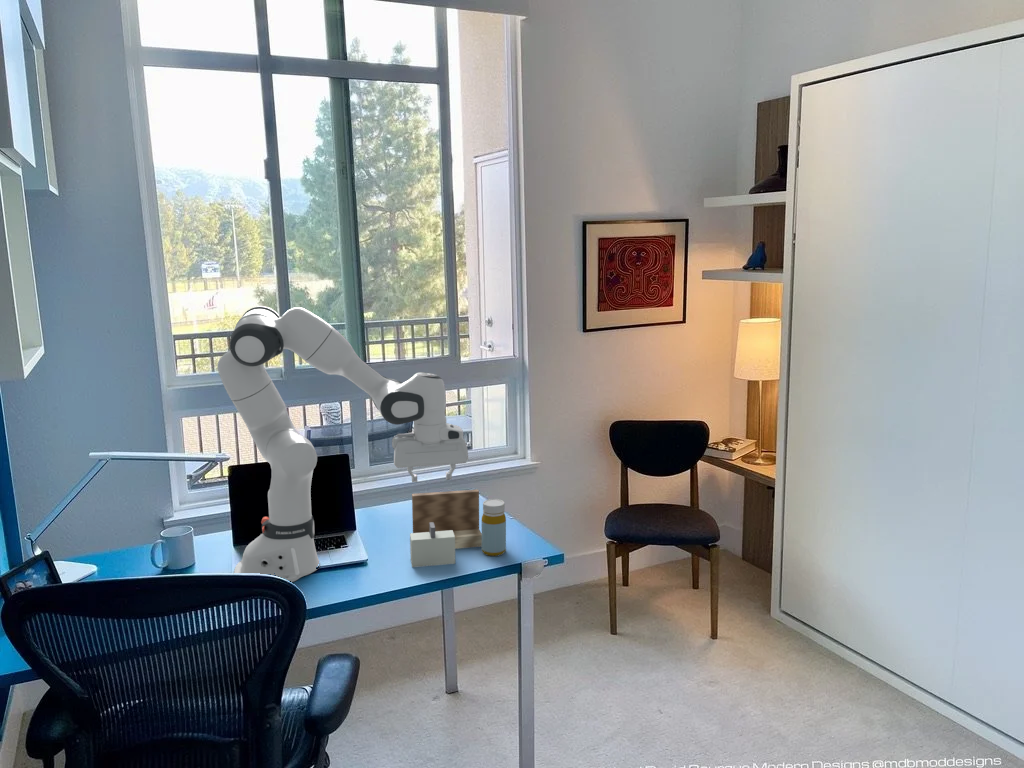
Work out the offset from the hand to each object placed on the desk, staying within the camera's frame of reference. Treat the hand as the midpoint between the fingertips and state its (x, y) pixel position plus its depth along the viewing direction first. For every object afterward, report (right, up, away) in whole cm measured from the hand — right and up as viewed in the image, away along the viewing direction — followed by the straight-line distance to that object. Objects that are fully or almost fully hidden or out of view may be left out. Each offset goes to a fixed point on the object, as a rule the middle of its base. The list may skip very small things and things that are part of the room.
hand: (431, 480), depth 208 cm
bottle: (+17, -22, +11) cm, 30 cm away
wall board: (+3, -21, +17) cm, 27 cm away
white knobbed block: (0, -24, +5) cm, 24 cm away
